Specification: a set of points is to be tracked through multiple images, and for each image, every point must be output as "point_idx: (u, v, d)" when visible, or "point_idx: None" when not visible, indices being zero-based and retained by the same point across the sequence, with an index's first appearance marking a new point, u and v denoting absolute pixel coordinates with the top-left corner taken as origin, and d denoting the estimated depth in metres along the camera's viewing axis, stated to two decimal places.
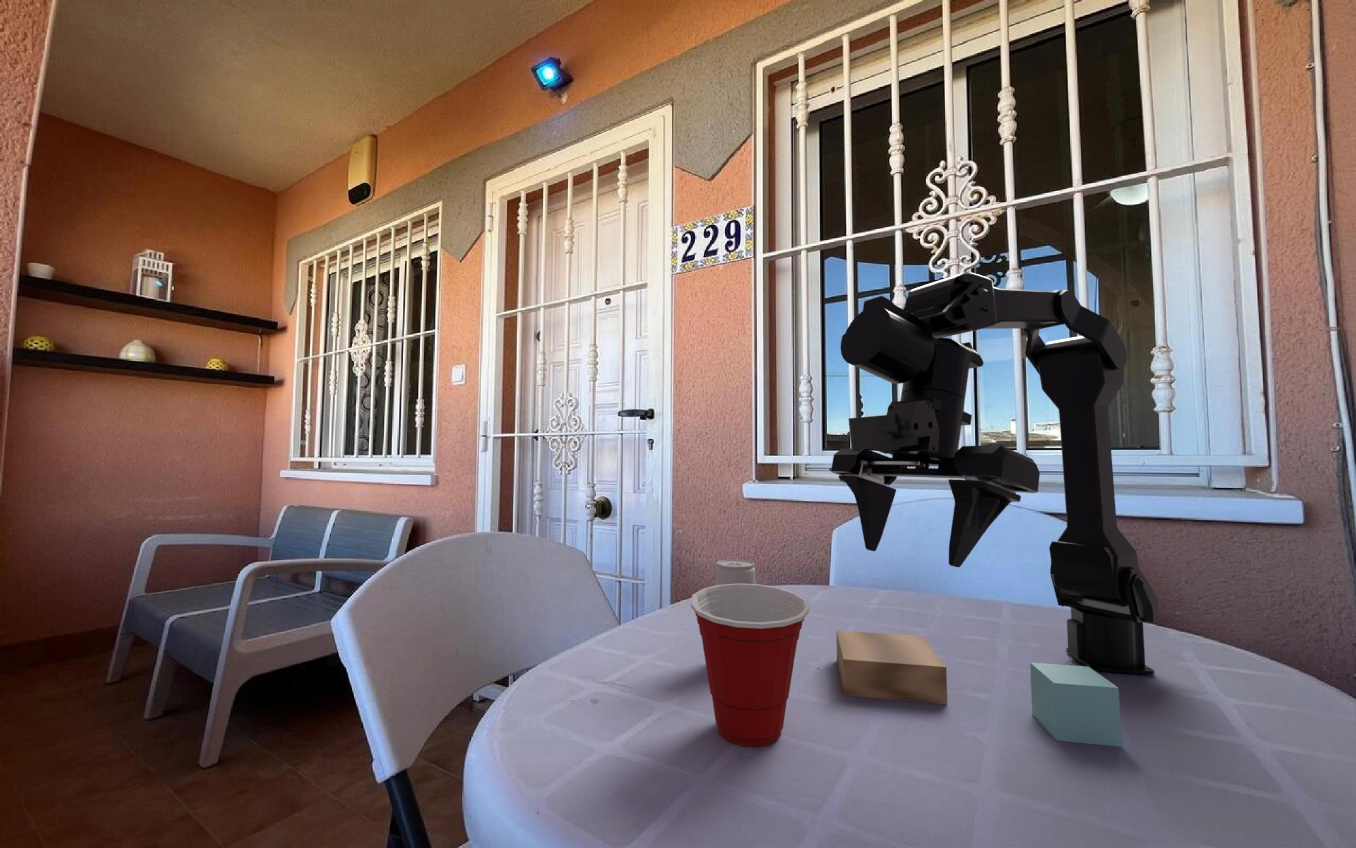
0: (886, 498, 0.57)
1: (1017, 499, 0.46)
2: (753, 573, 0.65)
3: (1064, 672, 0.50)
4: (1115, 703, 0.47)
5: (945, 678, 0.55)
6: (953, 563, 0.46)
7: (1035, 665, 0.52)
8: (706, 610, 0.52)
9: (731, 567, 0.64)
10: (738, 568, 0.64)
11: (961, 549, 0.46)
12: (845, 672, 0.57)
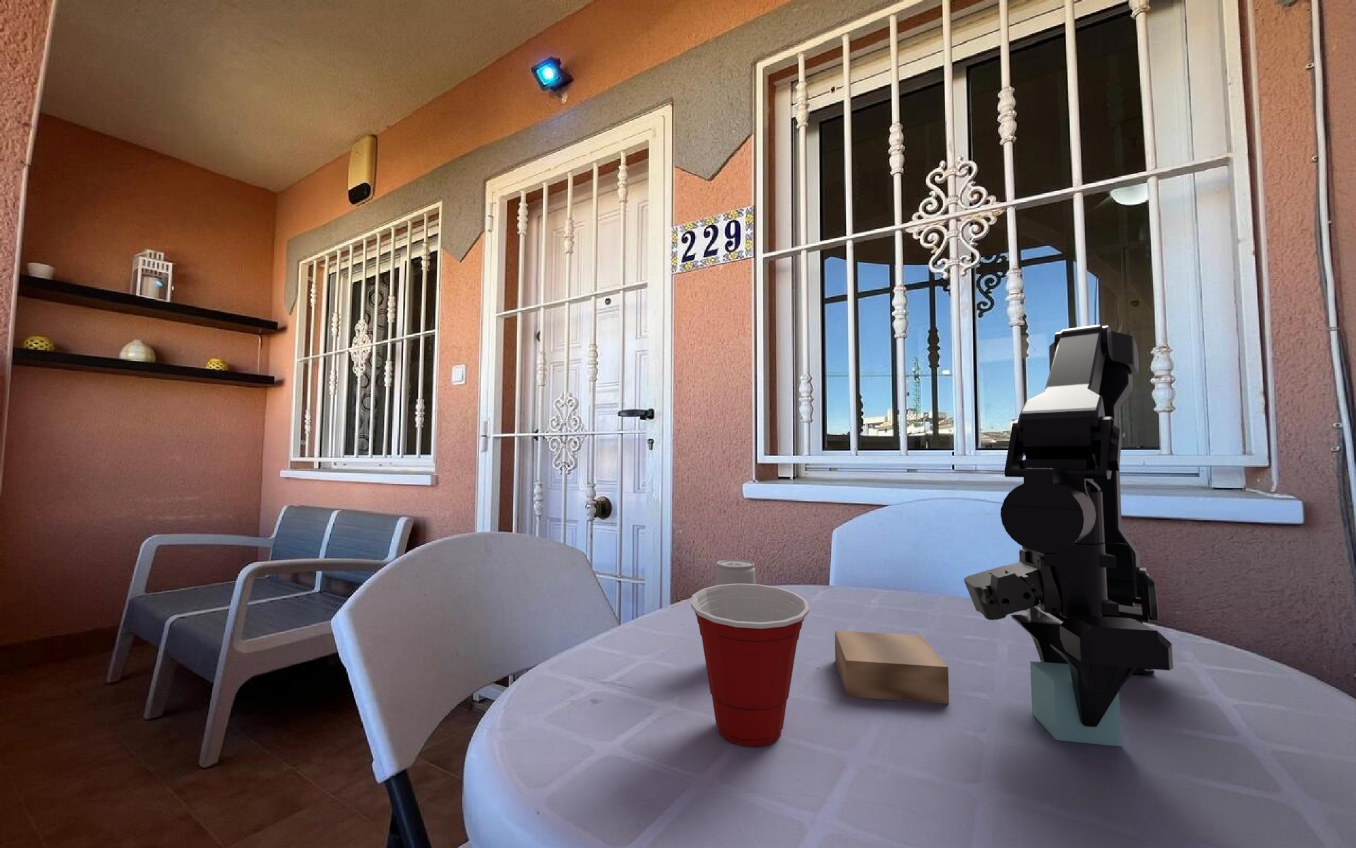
0: None
1: None
2: (753, 573, 0.65)
3: (1064, 671, 0.50)
4: (1115, 702, 0.47)
5: (947, 678, 0.55)
6: (1083, 724, 0.47)
7: (1035, 664, 0.52)
8: (706, 610, 0.52)
9: (731, 567, 0.64)
10: (738, 568, 0.64)
11: (1089, 711, 0.47)
12: (847, 673, 0.57)
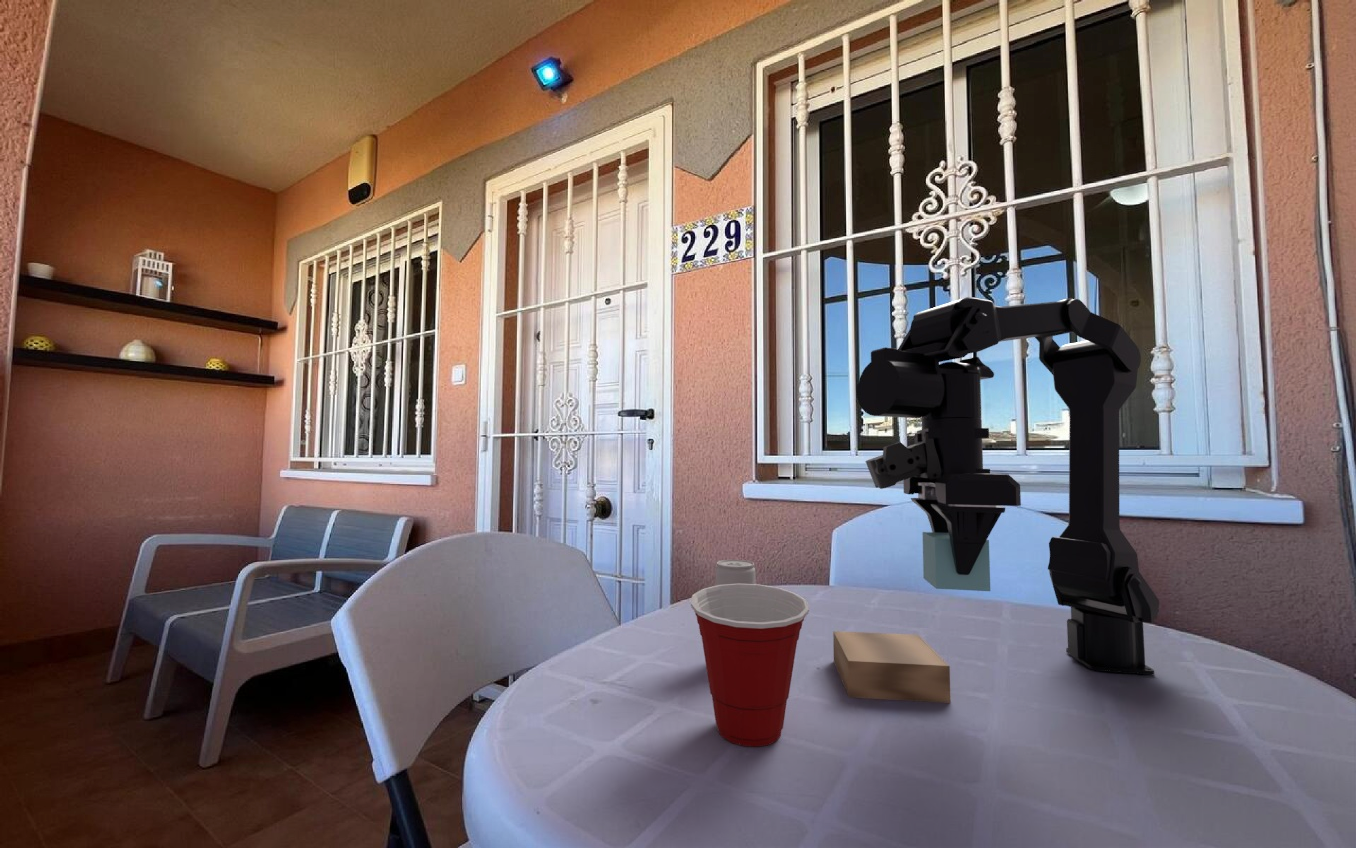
0: None
1: (997, 511, 0.51)
2: (753, 573, 0.65)
3: (948, 535, 0.57)
4: (986, 553, 0.54)
5: (948, 677, 0.55)
6: (958, 572, 0.54)
7: (926, 533, 0.59)
8: (706, 610, 0.52)
9: (731, 567, 0.64)
10: (738, 568, 0.64)
11: (962, 560, 0.54)
12: (850, 674, 0.57)
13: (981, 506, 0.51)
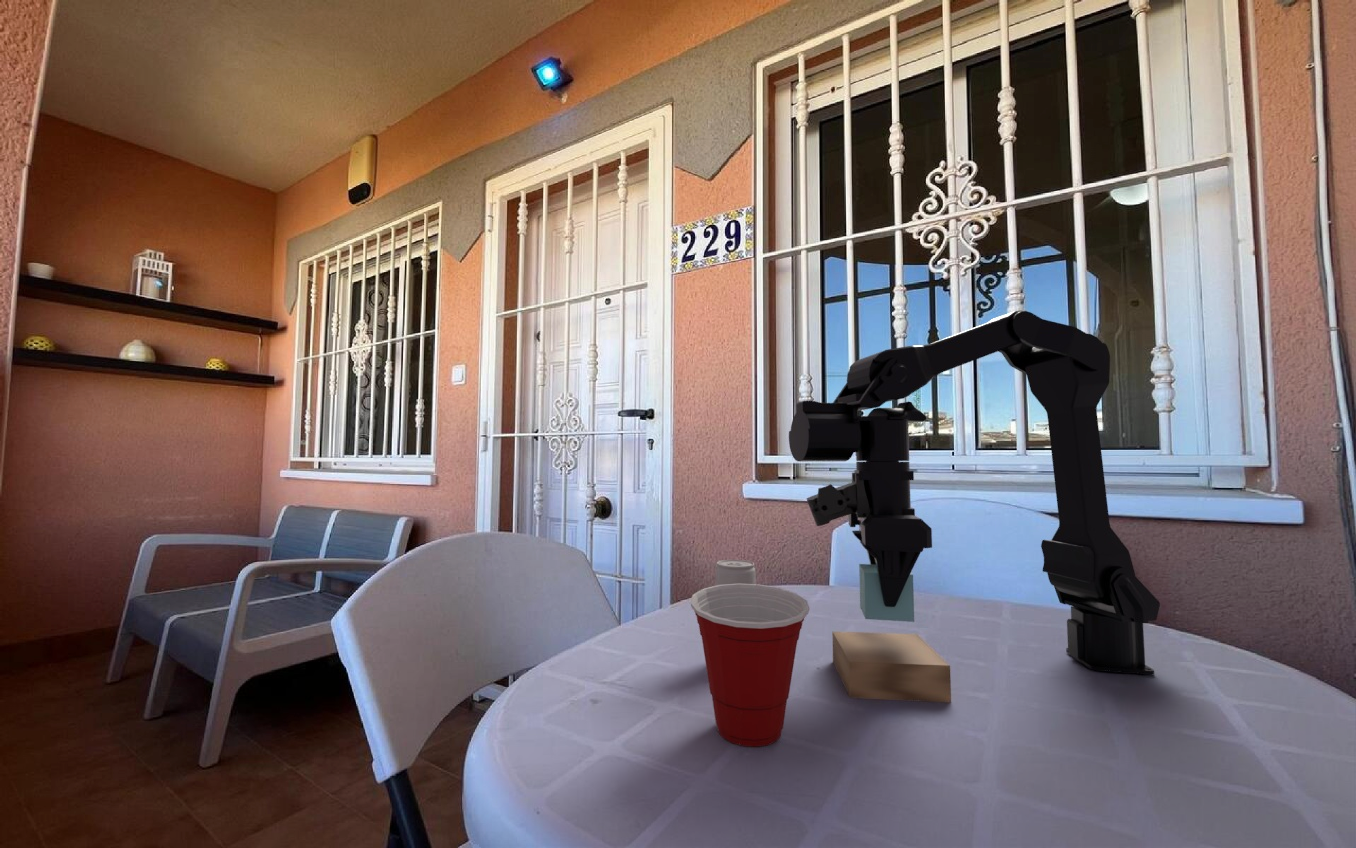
0: None
1: (915, 551, 0.55)
2: (753, 573, 0.65)
3: None
4: (910, 587, 0.58)
5: (949, 677, 0.55)
6: (885, 604, 0.59)
7: (861, 565, 0.64)
8: (706, 610, 0.52)
9: (731, 567, 0.64)
10: (738, 568, 0.64)
11: (888, 594, 0.58)
12: (851, 675, 0.56)
13: None
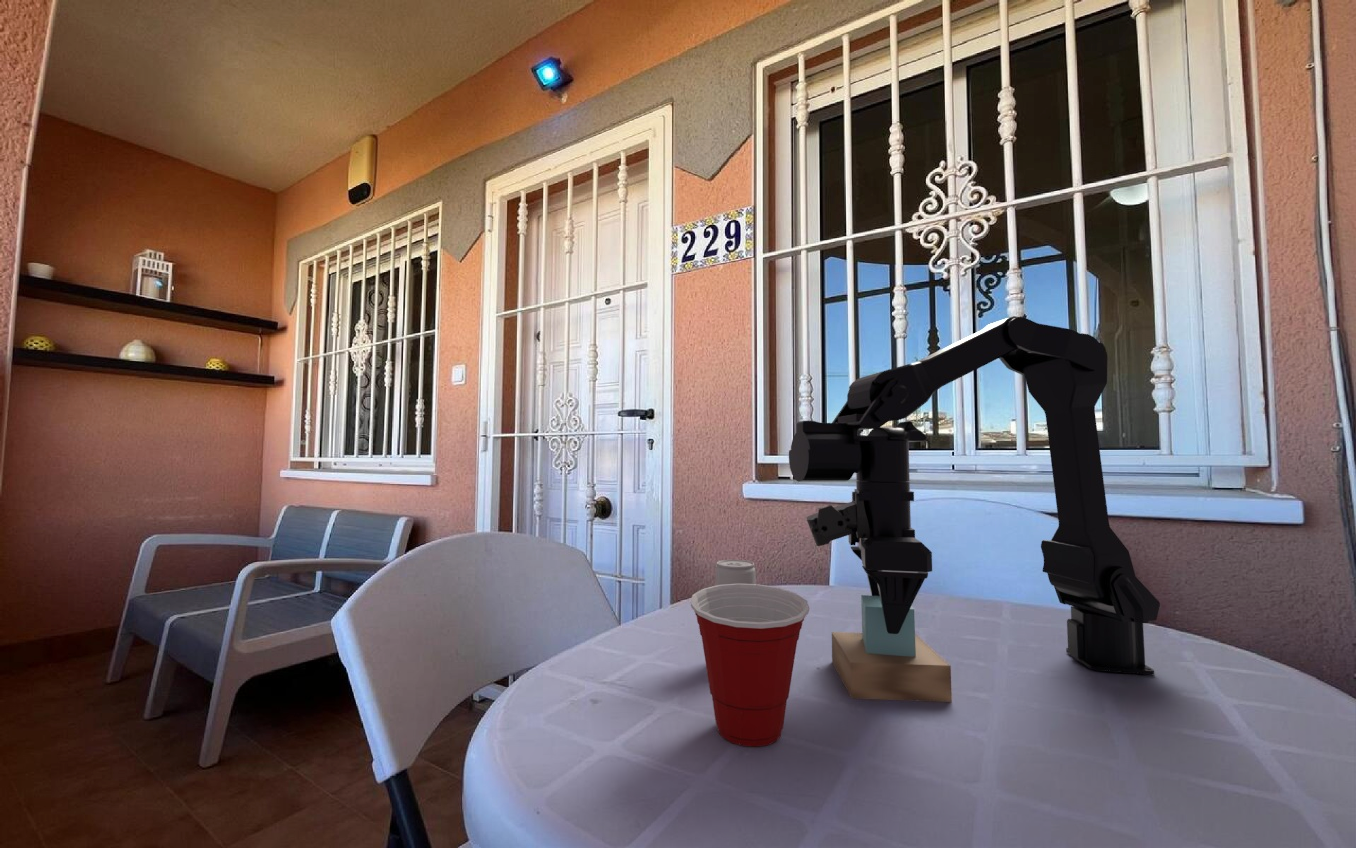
0: None
1: (919, 577, 0.53)
2: (753, 573, 0.65)
3: None
4: (911, 621, 0.58)
5: (949, 677, 0.55)
6: (888, 631, 0.57)
7: (863, 596, 0.63)
8: (706, 610, 0.52)
9: (731, 567, 0.64)
10: (738, 568, 0.64)
11: (891, 620, 0.56)
12: (852, 675, 0.56)
13: (905, 572, 0.54)
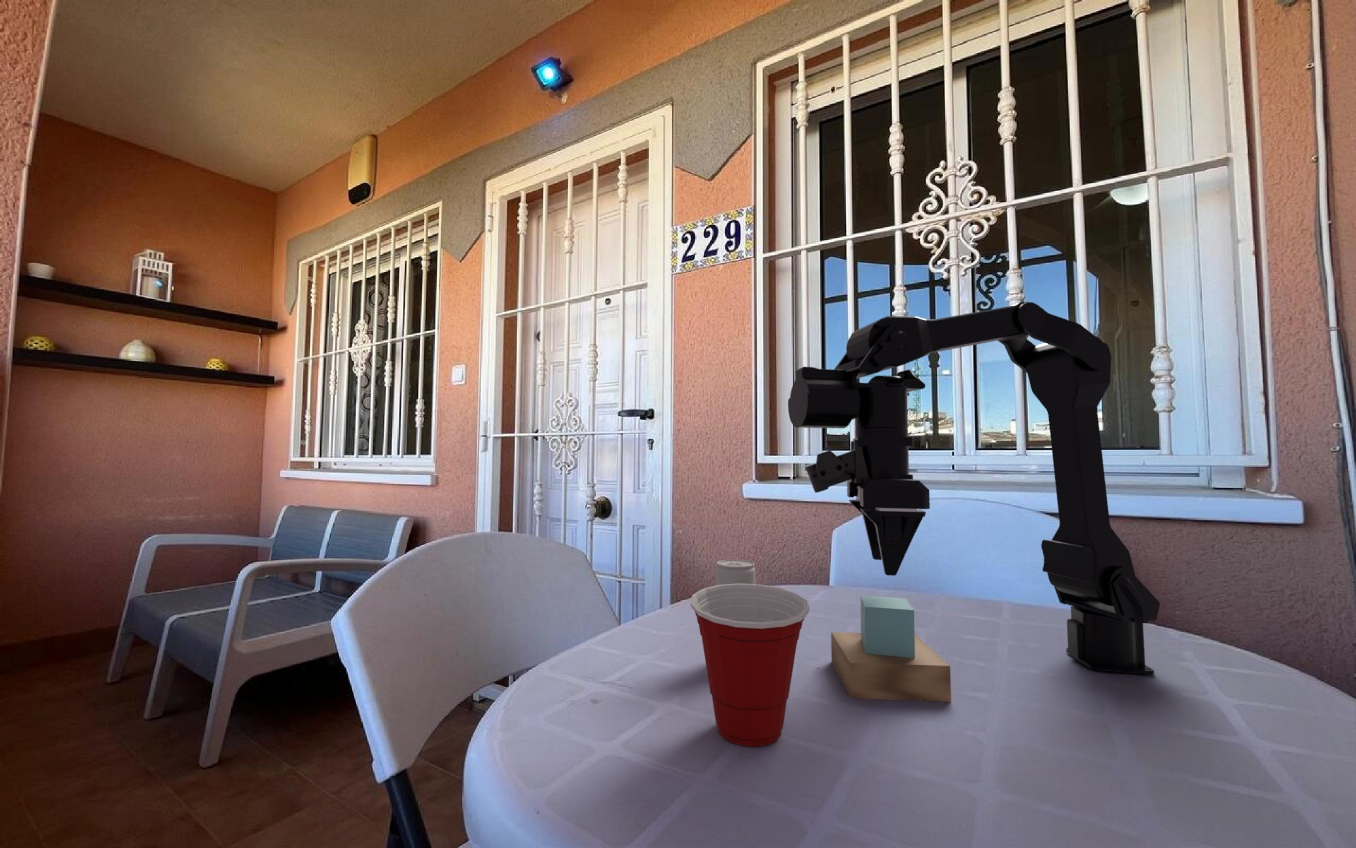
0: None
1: (917, 516, 0.54)
2: (753, 573, 0.65)
3: (881, 601, 0.61)
4: (911, 622, 0.58)
5: (949, 677, 0.55)
6: (885, 573, 0.57)
7: (862, 597, 0.63)
8: (706, 610, 0.52)
9: (731, 567, 0.64)
10: (738, 568, 0.64)
11: (889, 562, 0.57)
12: (852, 676, 0.56)
13: (903, 511, 0.54)
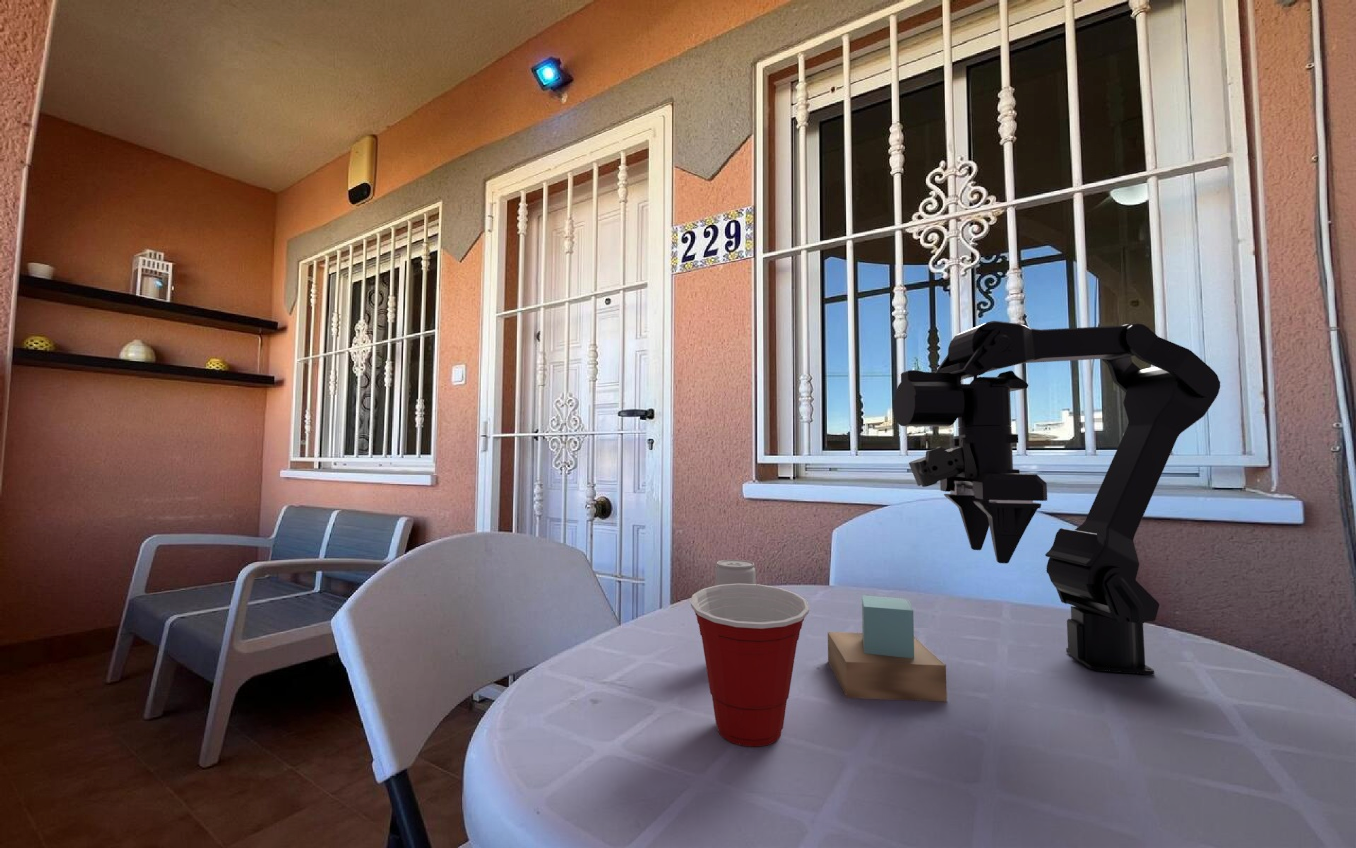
0: None
1: (1034, 507, 0.58)
2: (753, 573, 0.65)
3: (882, 601, 0.61)
4: (910, 622, 0.58)
5: (945, 676, 0.56)
6: (998, 561, 0.61)
7: (863, 597, 0.63)
8: (706, 610, 0.52)
9: (731, 567, 0.64)
10: (738, 568, 0.64)
11: (1002, 550, 0.61)
12: (848, 675, 0.56)
13: (1019, 502, 0.58)
